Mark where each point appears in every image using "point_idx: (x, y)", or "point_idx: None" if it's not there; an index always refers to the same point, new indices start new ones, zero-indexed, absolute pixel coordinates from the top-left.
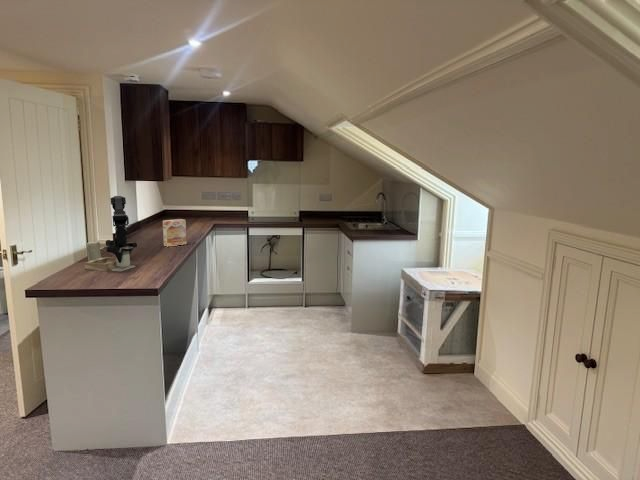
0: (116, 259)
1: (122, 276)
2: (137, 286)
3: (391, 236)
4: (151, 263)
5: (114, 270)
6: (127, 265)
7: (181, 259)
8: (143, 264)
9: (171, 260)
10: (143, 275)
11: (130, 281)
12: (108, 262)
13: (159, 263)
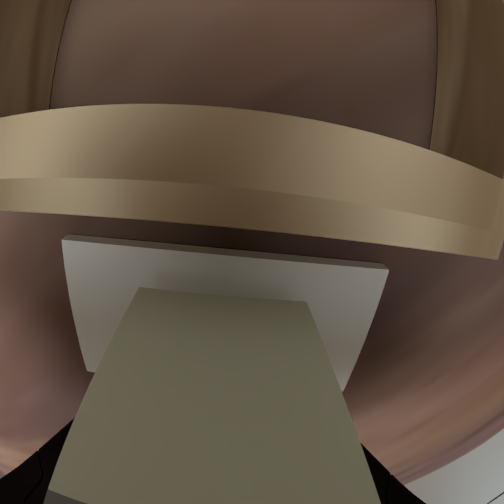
0: (95, 380)
1: (17, 414)
2: (3, 469)
3: (494, 498)
4: (451, 401)
5: (71, 283)
6: (363, 302)
7: (486, 440)
8: (433, 378)
9: (486, 426)
10: None
11: (8, 453)
12: (69, 124)
13: (434, 436)
